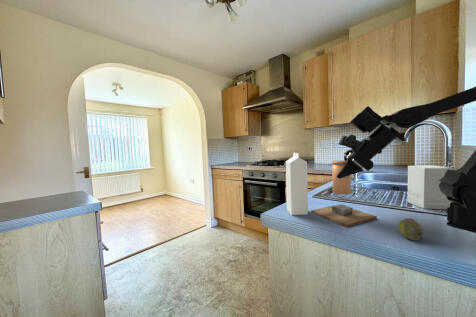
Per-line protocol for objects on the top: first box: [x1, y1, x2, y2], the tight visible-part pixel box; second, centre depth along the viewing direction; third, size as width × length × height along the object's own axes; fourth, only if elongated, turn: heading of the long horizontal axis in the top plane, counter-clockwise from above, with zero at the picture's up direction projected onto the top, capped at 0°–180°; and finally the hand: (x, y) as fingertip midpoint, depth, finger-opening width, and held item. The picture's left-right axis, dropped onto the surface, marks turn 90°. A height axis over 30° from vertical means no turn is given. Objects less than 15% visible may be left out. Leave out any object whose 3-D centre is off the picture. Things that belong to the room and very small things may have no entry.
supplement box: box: [406, 164, 454, 210], centre depth 71 cm, size 9×9×15 cm
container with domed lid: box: [331, 160, 352, 195], centre depth 65 cm, size 6×6×11 cm
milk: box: [285, 152, 309, 216], centre depth 69 cm, size 6×6×22 cm
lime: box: [398, 218, 423, 241], centre depth 48 cm, size 4×5×5 cm
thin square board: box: [310, 203, 378, 228], centre depth 65 cm, size 14×14×3 cm
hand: (336, 176), depth 65 cm, fingers closed on container with domed lid, 5 cm apart
